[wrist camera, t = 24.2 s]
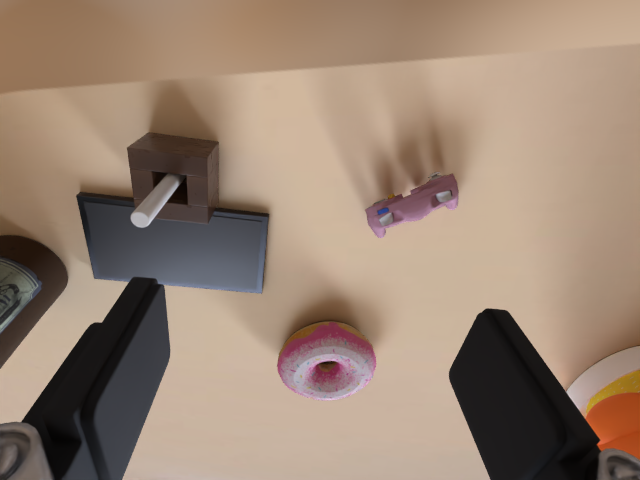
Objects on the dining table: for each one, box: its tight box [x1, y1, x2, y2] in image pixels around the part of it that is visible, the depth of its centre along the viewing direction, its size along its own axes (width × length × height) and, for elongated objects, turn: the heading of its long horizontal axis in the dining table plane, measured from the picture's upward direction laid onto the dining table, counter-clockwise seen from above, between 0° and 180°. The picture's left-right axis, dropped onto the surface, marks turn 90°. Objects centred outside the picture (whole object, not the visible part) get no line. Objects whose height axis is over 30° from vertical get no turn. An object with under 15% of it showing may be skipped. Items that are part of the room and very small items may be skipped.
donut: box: [277, 321, 376, 400], centre depth 50 cm, size 14×13×5 cm
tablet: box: [76, 192, 269, 293], centre depth 41 cm, size 11×20×1 cm, turn 81°
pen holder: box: [127, 133, 219, 224], centre depth 35 cm, size 7×7×5 cm
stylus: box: [131, 173, 187, 228], centre depth 32 cm, size 1×1×12 cm
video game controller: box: [365, 172, 458, 238], centre depth 37 cm, size 10×5×7 cm, turn 114°
